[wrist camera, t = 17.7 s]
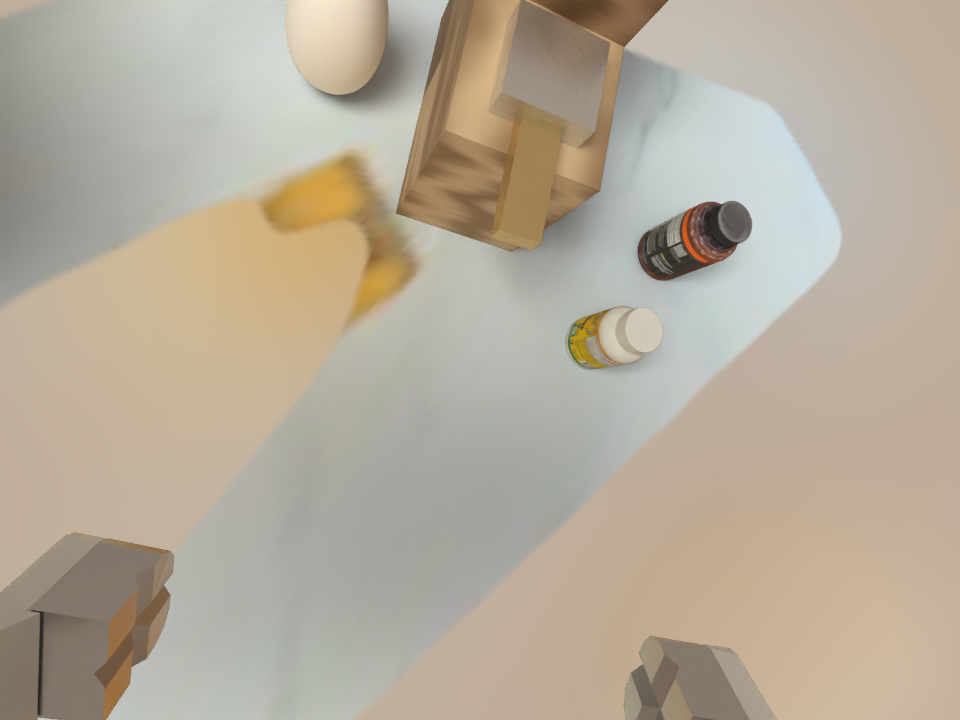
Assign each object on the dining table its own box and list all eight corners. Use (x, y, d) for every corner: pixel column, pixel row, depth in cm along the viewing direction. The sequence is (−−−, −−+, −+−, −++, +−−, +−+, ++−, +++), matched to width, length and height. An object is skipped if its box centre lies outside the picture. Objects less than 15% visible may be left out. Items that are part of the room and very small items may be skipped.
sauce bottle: (366, 127, 51) (410, -14, 34) (277, 100, 49) (278, -66, 32) (378, 51, 52) (427, -122, 35) (292, 21, 50) (300, -180, 33)
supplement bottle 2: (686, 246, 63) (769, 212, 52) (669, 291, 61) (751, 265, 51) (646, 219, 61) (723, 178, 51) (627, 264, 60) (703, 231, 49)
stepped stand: (396, 213, 51) (503, 31, 27) (441, 18, 55) (573, -297, 31) (512, 251, 55) (697, 122, 31) (547, 67, 59) (739, -179, 34)
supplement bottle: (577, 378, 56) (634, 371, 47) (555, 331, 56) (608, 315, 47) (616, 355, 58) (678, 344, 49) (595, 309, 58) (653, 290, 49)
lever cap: (462, 227, 36) (475, 214, 34) (506, 23, 39) (521, -2, 36) (556, 259, 38) (574, 248, 36) (591, 63, 41) (610, 42, 39)
